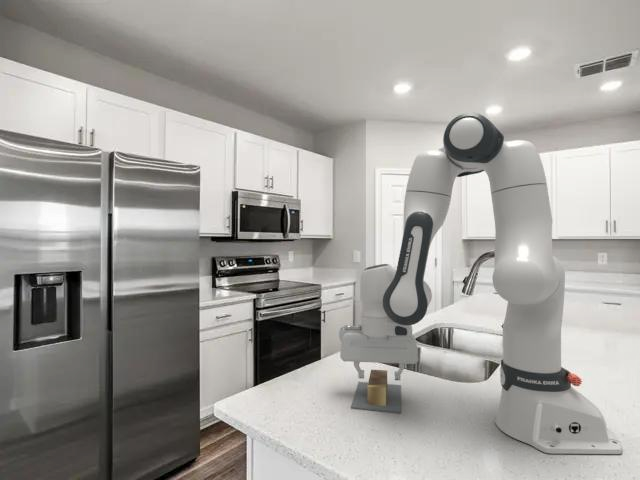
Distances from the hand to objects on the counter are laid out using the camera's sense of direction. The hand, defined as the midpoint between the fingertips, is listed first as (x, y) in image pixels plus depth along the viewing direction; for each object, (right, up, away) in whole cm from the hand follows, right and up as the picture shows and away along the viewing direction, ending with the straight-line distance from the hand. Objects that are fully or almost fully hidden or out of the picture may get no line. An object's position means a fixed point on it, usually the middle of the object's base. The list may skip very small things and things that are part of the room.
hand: (379, 378), depth 94 cm
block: (+1, -2, +7) cm, 7 cm away
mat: (0, -5, +1) cm, 5 cm away
